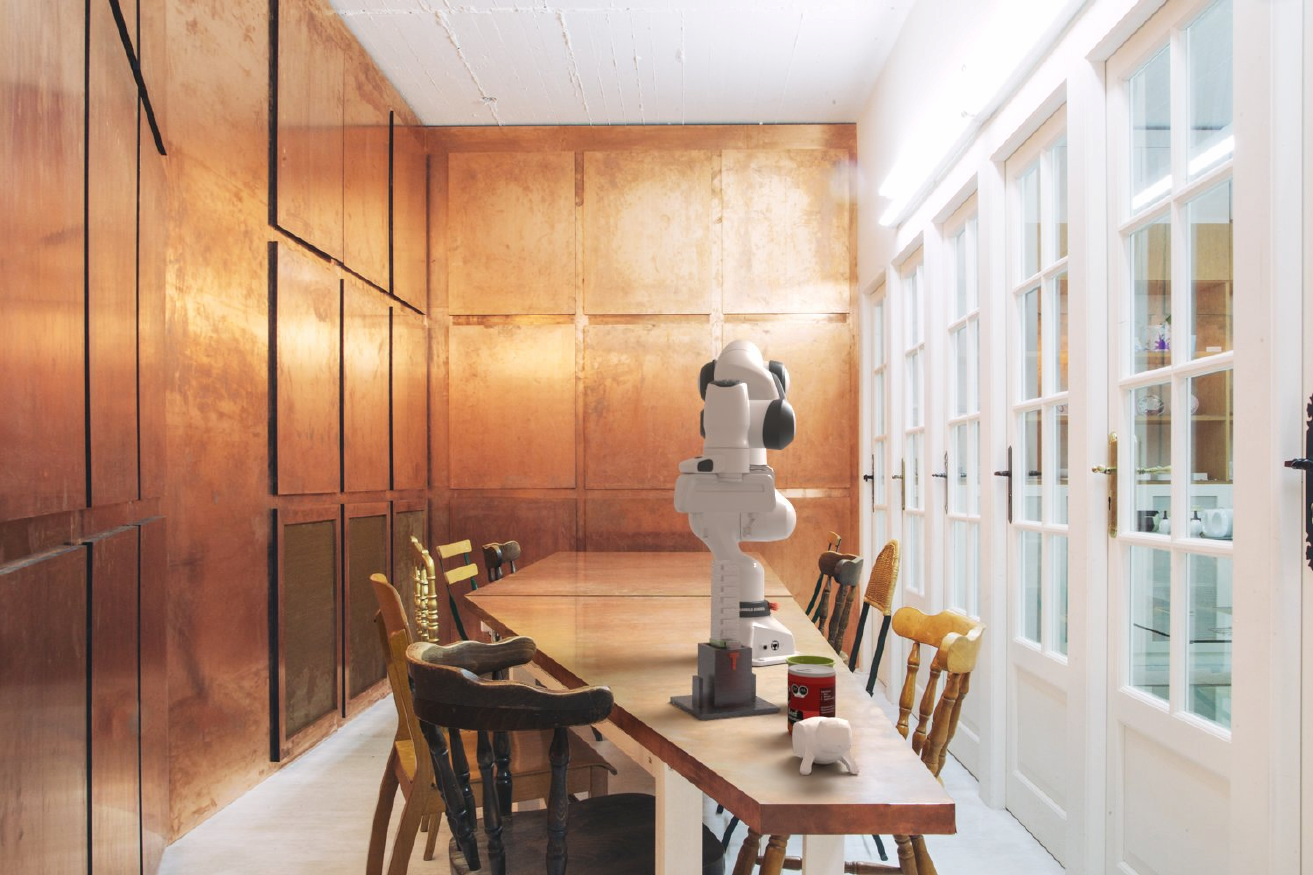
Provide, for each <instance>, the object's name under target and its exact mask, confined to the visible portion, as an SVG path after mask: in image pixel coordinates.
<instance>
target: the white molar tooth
mask: <svg viewBox="0 0 1313 875" xmlns="http://www.w3.org/2000/svg"><path fill="white" fill-rule="evenodd" d="M791 739H792V750H793V752H794V754H795V757H796V758H797V757H798V758H802V761H801V764H800V766H799V773H800V774H801V775H802V776H808V775H810V774H811V773H812V765H813V763H814V764H819V765H829V764H832V763H835V762H837V761H839V762H840V763H842V764H843V765H844V766H845V767H846V769H847V771H848V773H850V775H859V774H860V768H859V766H858V764H857V762H856V760H855V758H854V756H853V754H852V752H851V751H850V750H851V748H852V745H853V733H852V728H851V725H850V723H849V721H848V720H846V719H843V718H840V717H836V716H835V717H834V718H827V717H812V718H808V719H805V720H802V721H800V722H796V723H794V725H793V732H792V736H791Z"/></svg>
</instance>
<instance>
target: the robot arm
mask: <svg viewBox="0 0 1313 875" xmlns="http://www.w3.org/2000/svg"><path fill="white" fill-rule="evenodd" d="M699 371H700V372H699V374H698V377H697V381H696V382H697V390H698V392H699V395H700V398H701V400H702V401H703V402H704V407H703V408H702V409H701V411H700V414H699V418H700V421H699V424H700V425H699V428H700V429H699V434H700V436H701V437H702V438H703V440H704V443H703V446H702V450H703V451H702V454H701V455H699V456H695V457H691V458H688V459H685V460H682V461H680V462H679V463H678V470H679V473H681V474H679V476H678V477H676V481H675V486H674V494H673V507H674V510H675V511H676V512H677V513H679V514H688V524H689V527H690V529H691V531H692V533H693V534H694V535H695V537H697V538H698V539H700V541H702V543H704V545H706V547H707V548H708V549H709V551H710V553H711V554H712V557H713V558H714V561H718V560H732V561H737V562H740V593H739V640H740V641H741V644H743V645H746V646H748V647H751V648H752V667H753V666H754V667H762V666H770V665H771V666H772V665H778V664H786V663H787V662H786V658H788V657H792V656H800V655H805V654H804V653H802V652H800V651H798V650H796V642H795V638H794V635H793V633H792V631H791V630H789V629H788V628H787V627H786V626H785V625H784V624H782V623H781V622H780V621H779V620H778V619H776V618H775V617H774V616H773V615H772V612H771V611H774V612H777V611H779V608H780V606H779V605H780V604H779V603H778V602H777V601H776V602H775V601H768V600H766V599H765V584H766V583H765V581H766V580H765V568H764V566H763V565H762V563H761V562H760V561H758V560H757V559H756V558H754V557H752V556H750V555H748V554H747V553H744V552H743V551H742V550H741V548H740V546H739V544H740V542H741V543H742V542H763V543H764V542H765V543H766V542H768V543H769V542H774V541H775V542H776V541H781V540H786V539H788V538H789V537H790V536H791V535H792V534H793V532H794V530H795V528H796V525H797V513H796V510H795V508H794V506H793V504H792V503H791V501H790V500H788V499H787V498H786V497H785V496H783V495H782V494H781V493H780V492H779V491H778V490H777V488H776V487H775V482H776V476H775V475H776V474H775V471H774V469H773V468H772V467H770V466H769V465H768V461H767V458H768V457H767V450H774V451H782V450H784V449H785V448H787V447H788V446H789V445H790V444H791V443H792V442H794V439H795V436H796V432H797V419H796V415H795V414H796V413H795V412H794V411H795V410H794V409H793V406H792V405H791V404H790V403H789V401H788V399H787V394H788V392H789V389H790V383H791V380H790V374H789V372H788V370H787V367H786V365H785V363H783V362H780V361H776V360H771V359H770V360H769V361H767V360H764V359H763V356H762V352H761V351H760V349H759V348H758V347H757V345H756V344H754V343H753V342H751V341H750V340H747V339H735V340H733V341H731V342H729V343H728V344H726V346H724V348H723V349H722V350H721V353H720V354H719V356H718V357H717V360H716V358H714V359H712V361H709V362H706V363H705V364H704V365H703V366H702V367H701V369H700V370H699ZM787 664H788V663H787Z"/></svg>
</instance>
